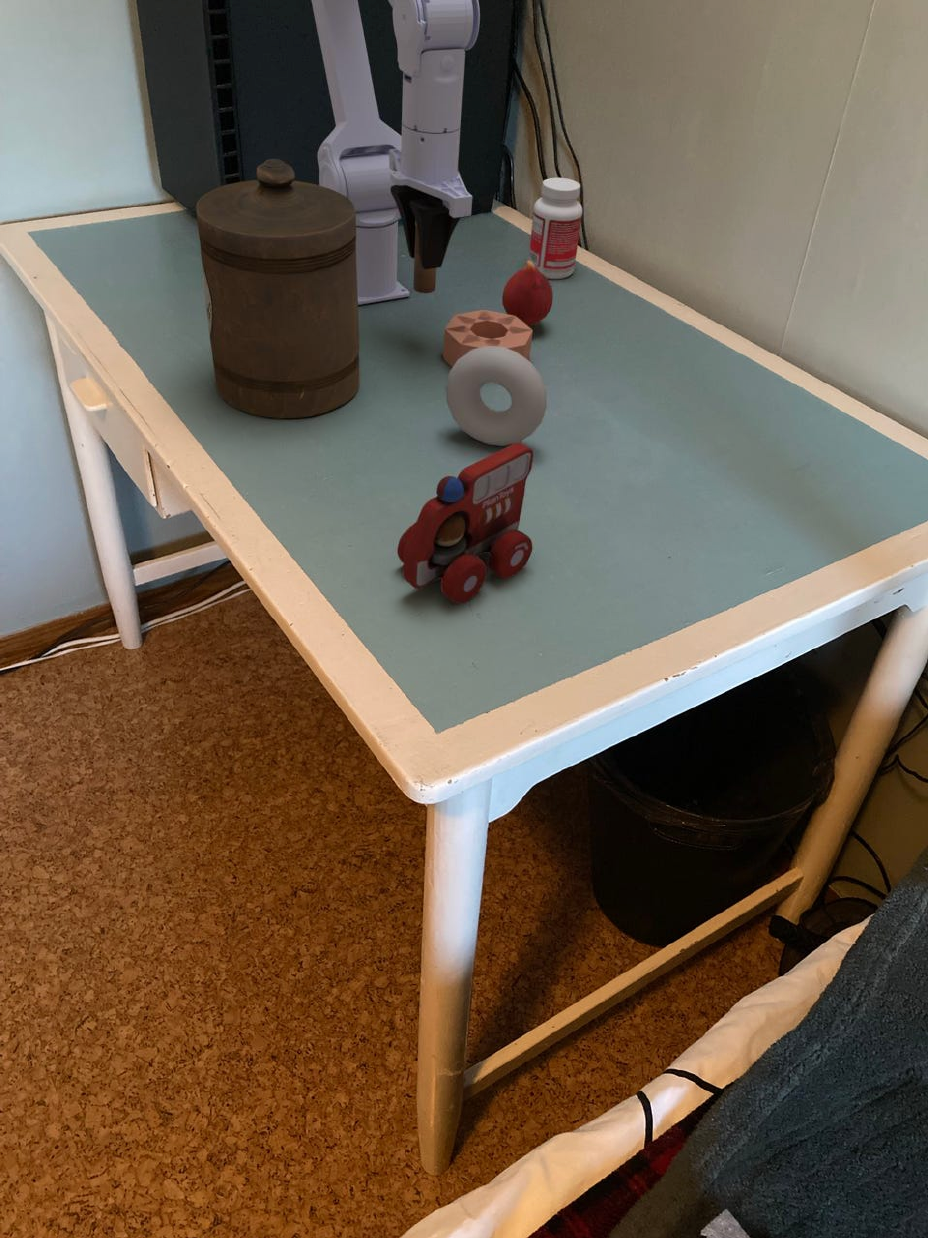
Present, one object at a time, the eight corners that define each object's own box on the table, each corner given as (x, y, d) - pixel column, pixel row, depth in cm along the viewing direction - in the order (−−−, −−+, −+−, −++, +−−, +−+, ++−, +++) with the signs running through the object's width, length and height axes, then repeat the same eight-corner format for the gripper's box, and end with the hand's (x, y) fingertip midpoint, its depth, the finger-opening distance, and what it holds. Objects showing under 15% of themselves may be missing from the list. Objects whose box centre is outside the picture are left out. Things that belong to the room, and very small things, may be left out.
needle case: (408, 285, 105) (411, 210, 100) (429, 281, 106) (432, 208, 101) (419, 294, 104) (422, 219, 99) (439, 291, 105) (443, 216, 99)
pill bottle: (581, 269, 128) (595, 182, 120) (560, 284, 124) (572, 196, 116) (540, 257, 130) (551, 171, 122) (518, 271, 126) (527, 183, 118)
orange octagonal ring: (432, 347, 109) (433, 318, 106) (500, 334, 112) (503, 305, 110) (470, 385, 103) (473, 355, 101) (541, 369, 107) (545, 340, 104)
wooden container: (273, 336, 108) (258, 125, 93) (385, 374, 104) (388, 159, 89) (185, 391, 98) (152, 165, 83) (305, 436, 94) (293, 205, 79)
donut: (544, 445, 96) (557, 352, 89) (534, 462, 93) (547, 368, 86) (449, 421, 97) (455, 329, 91) (437, 438, 95) (443, 344, 88)
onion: (549, 319, 116) (558, 254, 111) (547, 341, 112) (556, 274, 106) (501, 314, 116) (507, 248, 111) (497, 336, 112) (504, 268, 107)
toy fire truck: (378, 577, 79) (379, 471, 72) (487, 521, 86) (498, 420, 79) (433, 622, 76) (440, 516, 69) (543, 561, 82) (560, 458, 75)
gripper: (362, 105, 97) (363, 240, 106) (428, 151, 88) (422, 294, 97) (425, 100, 100) (420, 232, 109) (495, 145, 91) (483, 284, 100)
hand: (425, 261), depth 103 cm, fingers closed on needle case, 2 cm apart
